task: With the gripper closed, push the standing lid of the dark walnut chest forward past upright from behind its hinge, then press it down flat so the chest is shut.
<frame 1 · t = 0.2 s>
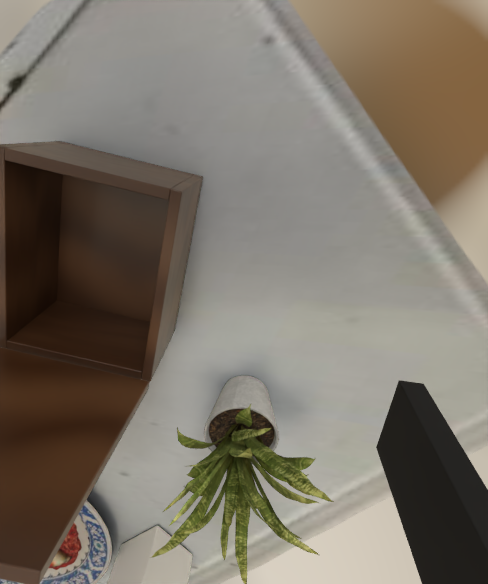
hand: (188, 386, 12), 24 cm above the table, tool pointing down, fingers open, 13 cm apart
lid: (4, 456, 23), point 18 cm above the table, hinge at 80.0°
chest: (122, 244, 36), on the table
milk carton: (157, 547, 53), on the table
house plant: (240, 403, 43), on the table
ceramic plate: (24, 519, 53), on the table
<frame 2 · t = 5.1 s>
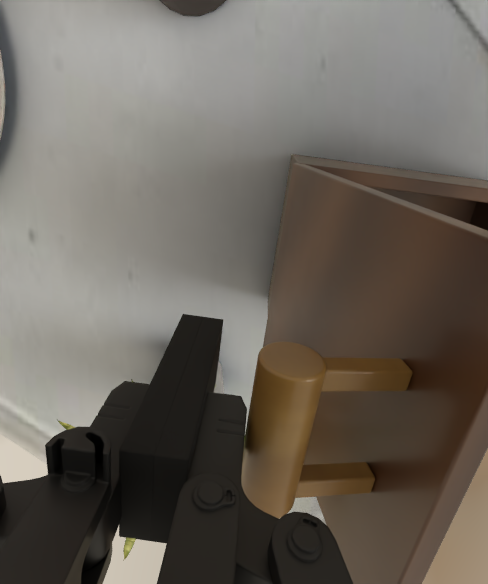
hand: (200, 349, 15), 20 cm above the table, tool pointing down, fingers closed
lid: (282, 332, 17), point 18 cm above the table, hinge at 76.9°
chest: (370, 244, 33), on the table
house plant: (183, 365, 39), on the table
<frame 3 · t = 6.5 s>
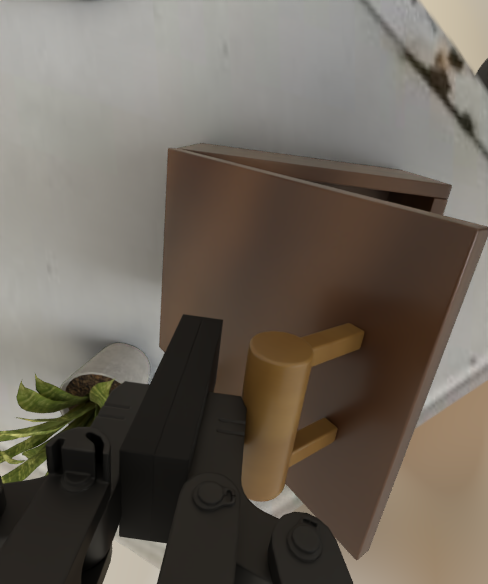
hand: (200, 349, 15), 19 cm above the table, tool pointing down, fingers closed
lid: (211, 322, 17), point 17 cm above the table, hinge at 49.7°
chest: (287, 236, 32), on the table
house plant: (111, 360, 38), on the table
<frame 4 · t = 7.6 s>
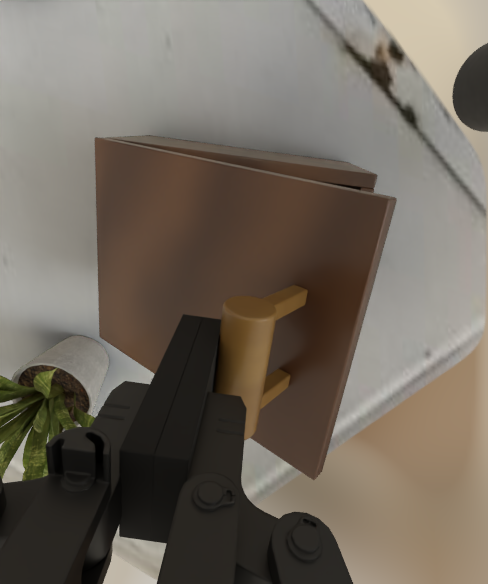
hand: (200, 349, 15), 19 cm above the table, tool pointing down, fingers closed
lid: (166, 301, 18), point 16 cm above the table, hinge at 34.5°, touching gripper
chest: (238, 228, 32), on the table
house plant: (70, 353, 39), on the table
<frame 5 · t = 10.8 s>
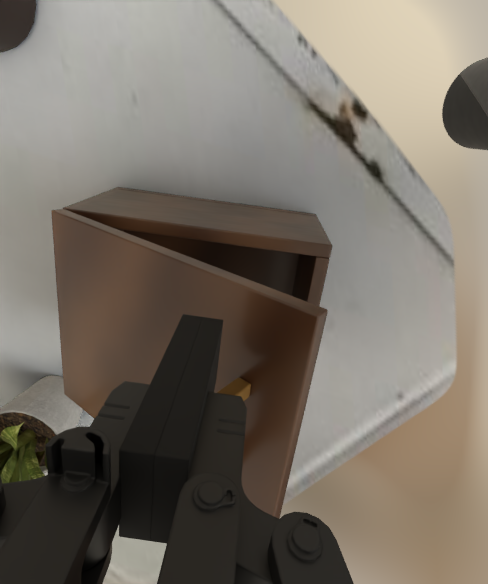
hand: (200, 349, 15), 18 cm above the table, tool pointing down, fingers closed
lid: (120, 383, 18), point 15 cm above the table, hinge at 32.5°
chest: (209, 275, 33), on the table
house plant: (47, 391, 39), on the table
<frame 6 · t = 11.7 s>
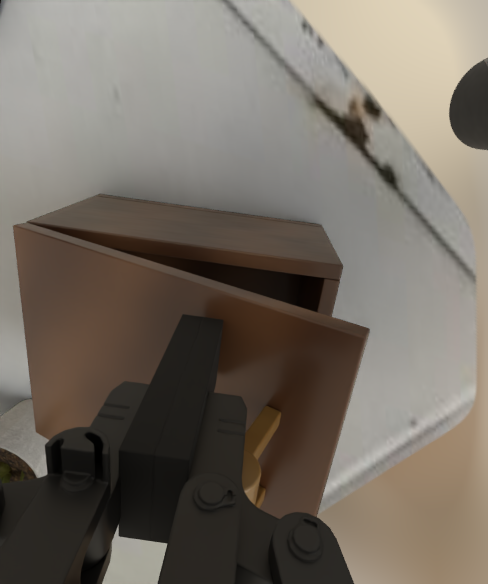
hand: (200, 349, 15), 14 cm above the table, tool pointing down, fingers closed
lid: (122, 422, 16), point 14 cm above the table, hinge at 22.7°, touching gripper
chest: (202, 292, 29), on the table
house plant: (26, 416, 35), on the table
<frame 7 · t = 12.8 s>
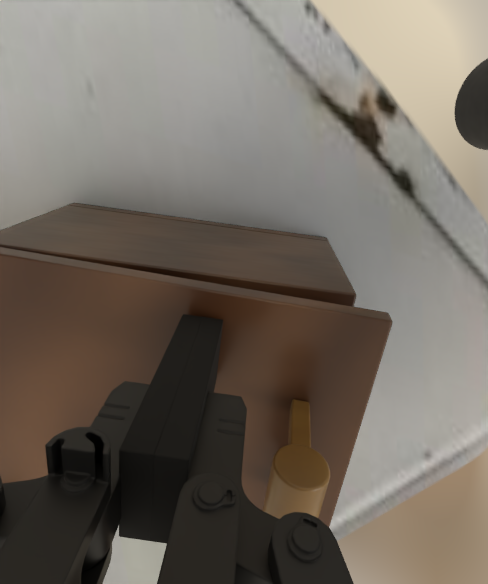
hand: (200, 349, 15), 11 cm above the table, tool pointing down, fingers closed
lid: (141, 448, 15), point 12 cm above the table, hinge at 4.5°, touching gripper
chest: (192, 312, 26), on the table
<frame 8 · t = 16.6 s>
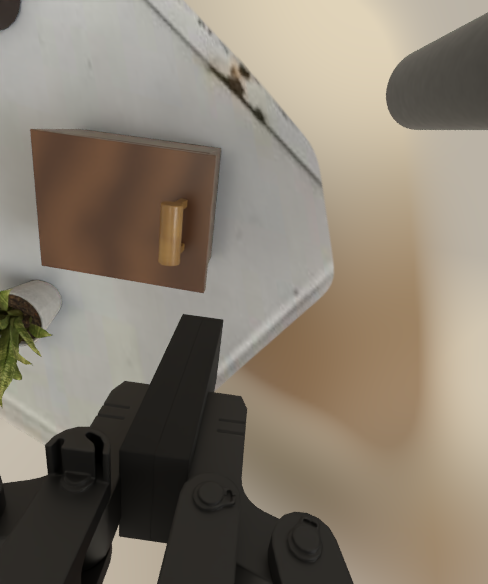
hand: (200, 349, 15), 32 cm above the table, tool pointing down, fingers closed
lid: (112, 219, 34), point 12 cm above the table, hinge at 4.4°
chest: (149, 196, 45), on the table
house plant: (32, 294, 51), on the table
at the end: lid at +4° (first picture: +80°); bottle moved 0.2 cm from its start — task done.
